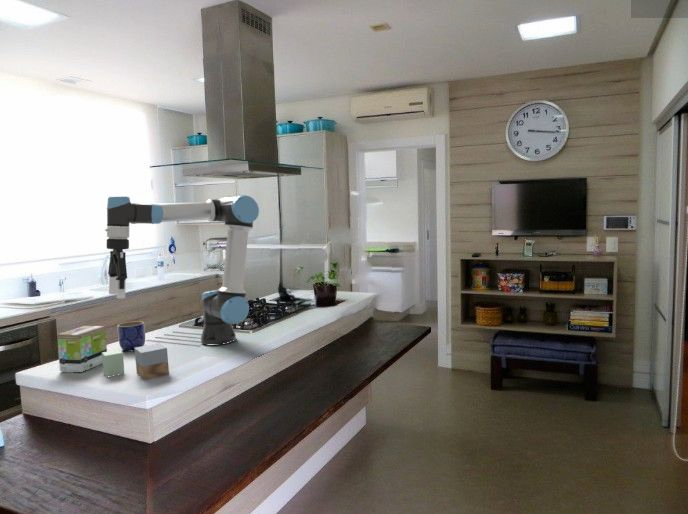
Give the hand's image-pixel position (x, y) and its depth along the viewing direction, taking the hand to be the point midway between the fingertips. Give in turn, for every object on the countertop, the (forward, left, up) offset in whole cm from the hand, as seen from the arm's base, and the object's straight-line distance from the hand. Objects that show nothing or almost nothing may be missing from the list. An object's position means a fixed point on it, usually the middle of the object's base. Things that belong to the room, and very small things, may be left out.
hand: (116, 296), depth 189 cm
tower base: (-8, +12, -29) cm, 32 cm away
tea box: (+10, -17, -29) cm, 35 cm away
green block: (+3, +1, -28) cm, 29 cm away
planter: (-11, -31, -29) cm, 44 cm away
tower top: (-7, +12, -24) cm, 27 cm away
